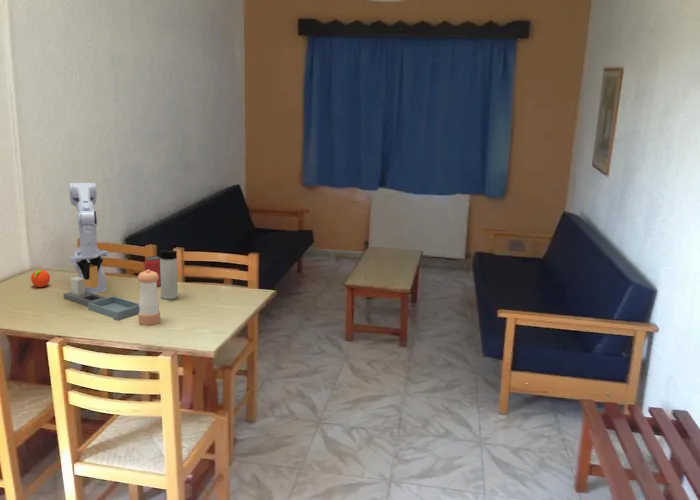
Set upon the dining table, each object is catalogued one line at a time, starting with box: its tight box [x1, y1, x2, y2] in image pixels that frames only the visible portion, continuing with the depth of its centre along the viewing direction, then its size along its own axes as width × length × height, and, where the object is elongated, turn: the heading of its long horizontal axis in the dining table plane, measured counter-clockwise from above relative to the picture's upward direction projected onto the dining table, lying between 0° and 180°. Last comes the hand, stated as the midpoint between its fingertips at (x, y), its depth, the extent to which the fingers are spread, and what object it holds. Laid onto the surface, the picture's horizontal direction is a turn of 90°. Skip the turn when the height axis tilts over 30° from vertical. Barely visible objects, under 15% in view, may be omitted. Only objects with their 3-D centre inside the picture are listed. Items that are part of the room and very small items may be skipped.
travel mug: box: [159, 249, 179, 301], centre depth 244 cm, size 6×7×20 cm
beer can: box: [144, 255, 161, 287], centre depth 261 cm, size 7×7×12 cm
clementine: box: [30, 269, 51, 288], centre depth 252 cm, size 8×7×7 cm
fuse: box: [69, 276, 85, 296], centre depth 239 cm, size 3×4×8 cm
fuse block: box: [63, 291, 107, 307], centre depth 238 cm, size 7×16×2 cm, turn 58°
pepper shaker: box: [137, 270, 161, 326], centre depth 219 cm, size 7×7×19 cm
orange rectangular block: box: [83, 264, 98, 288], centre depth 234 cm, size 3×4×8 cm
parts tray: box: [87, 295, 140, 321], centre depth 229 cm, size 11×16×3 cm
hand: (90, 278), depth 234 cm, fingers closed on orange rectangular block, 3 cm apart
